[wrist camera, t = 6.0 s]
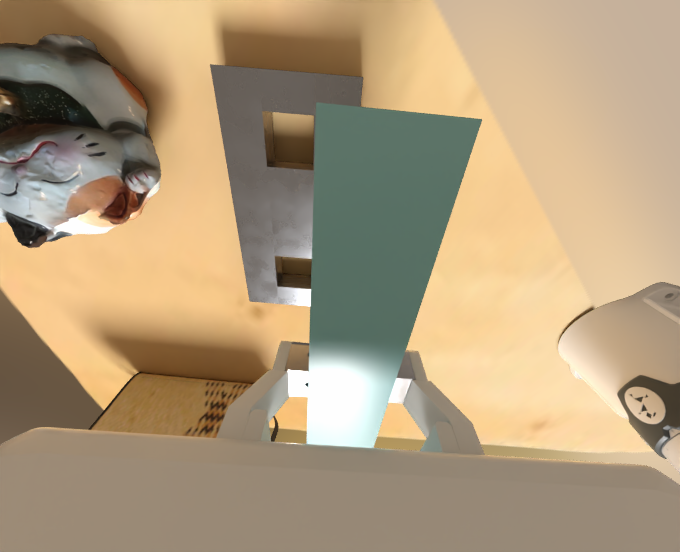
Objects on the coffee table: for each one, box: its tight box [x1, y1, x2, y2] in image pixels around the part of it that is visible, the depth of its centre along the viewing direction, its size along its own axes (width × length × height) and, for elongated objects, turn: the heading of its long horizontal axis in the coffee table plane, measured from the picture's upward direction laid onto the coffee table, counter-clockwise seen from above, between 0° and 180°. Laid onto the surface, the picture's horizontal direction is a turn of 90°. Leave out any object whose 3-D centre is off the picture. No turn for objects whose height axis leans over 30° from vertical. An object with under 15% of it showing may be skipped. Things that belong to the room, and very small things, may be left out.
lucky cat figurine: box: [0, 34, 161, 248], centre depth 21 cm, size 15×12×14 cm
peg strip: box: [307, 102, 482, 448], centre depth 13 cm, size 4×20×5 cm, turn 175°
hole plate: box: [210, 64, 363, 306], centre depth 28 cm, size 12×24×3 cm, turn 176°
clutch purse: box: [88, 372, 278, 442], centre depth 44 cm, size 30×7×15 cm, turn 85°
